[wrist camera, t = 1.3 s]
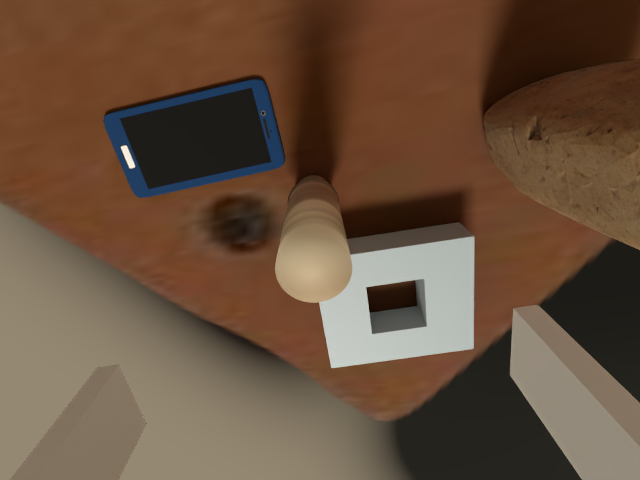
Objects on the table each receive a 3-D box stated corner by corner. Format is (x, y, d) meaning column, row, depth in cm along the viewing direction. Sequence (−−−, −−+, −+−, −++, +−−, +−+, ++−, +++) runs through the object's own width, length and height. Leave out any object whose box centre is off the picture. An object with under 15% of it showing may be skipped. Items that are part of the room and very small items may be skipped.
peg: (286, 173, 32) (265, 239, 18) (333, 165, 32) (348, 226, 18) (294, 217, 34) (282, 308, 20) (339, 210, 33) (358, 297, 20)
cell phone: (103, 114, 30) (98, 115, 30) (265, 76, 29) (264, 75, 29) (138, 198, 33) (135, 200, 32) (287, 165, 32) (287, 166, 31)
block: (489, 187, 33) (717, 315, 14) (467, 107, 30) (710, 137, 12) (613, 134, 31) (1045, 203, 13) (600, 45, 29) (1125, -32, 10)
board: (311, 244, 35) (311, 260, 31) (459, 222, 34) (474, 236, 31) (329, 345, 39) (331, 368, 36) (460, 326, 39) (473, 348, 35)
